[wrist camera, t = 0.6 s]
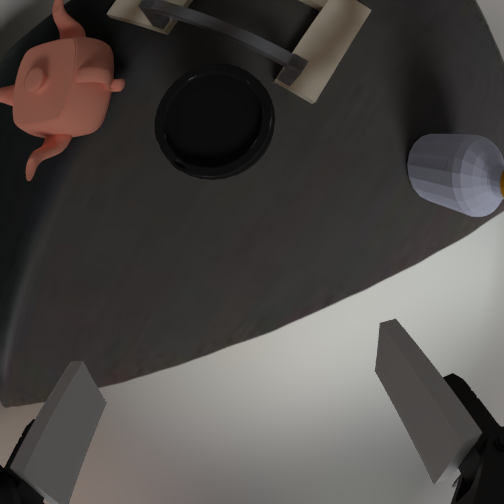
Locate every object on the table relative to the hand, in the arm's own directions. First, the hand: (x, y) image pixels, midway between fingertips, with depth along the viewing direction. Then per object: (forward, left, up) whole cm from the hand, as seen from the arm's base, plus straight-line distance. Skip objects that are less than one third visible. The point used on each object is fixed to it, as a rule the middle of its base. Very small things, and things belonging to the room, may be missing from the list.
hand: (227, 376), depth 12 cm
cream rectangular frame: (-13, +25, -25) cm, 38 cm away
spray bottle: (+19, +20, -25) cm, 37 cm away
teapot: (-26, +6, -25) cm, 37 cm away
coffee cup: (-6, +9, -25) cm, 27 cm away
